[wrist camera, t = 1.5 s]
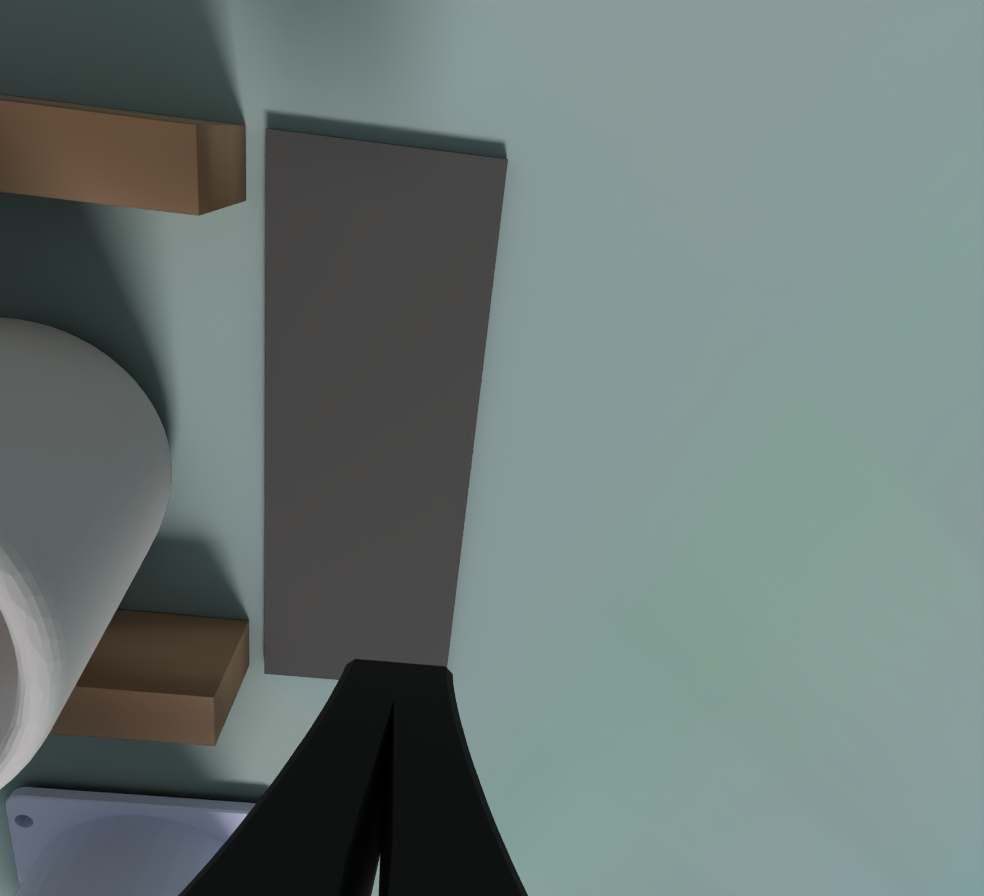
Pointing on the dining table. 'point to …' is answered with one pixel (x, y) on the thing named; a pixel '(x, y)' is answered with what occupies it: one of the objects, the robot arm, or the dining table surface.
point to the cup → (66, 517)
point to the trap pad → (370, 393)
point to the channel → (171, 188)
